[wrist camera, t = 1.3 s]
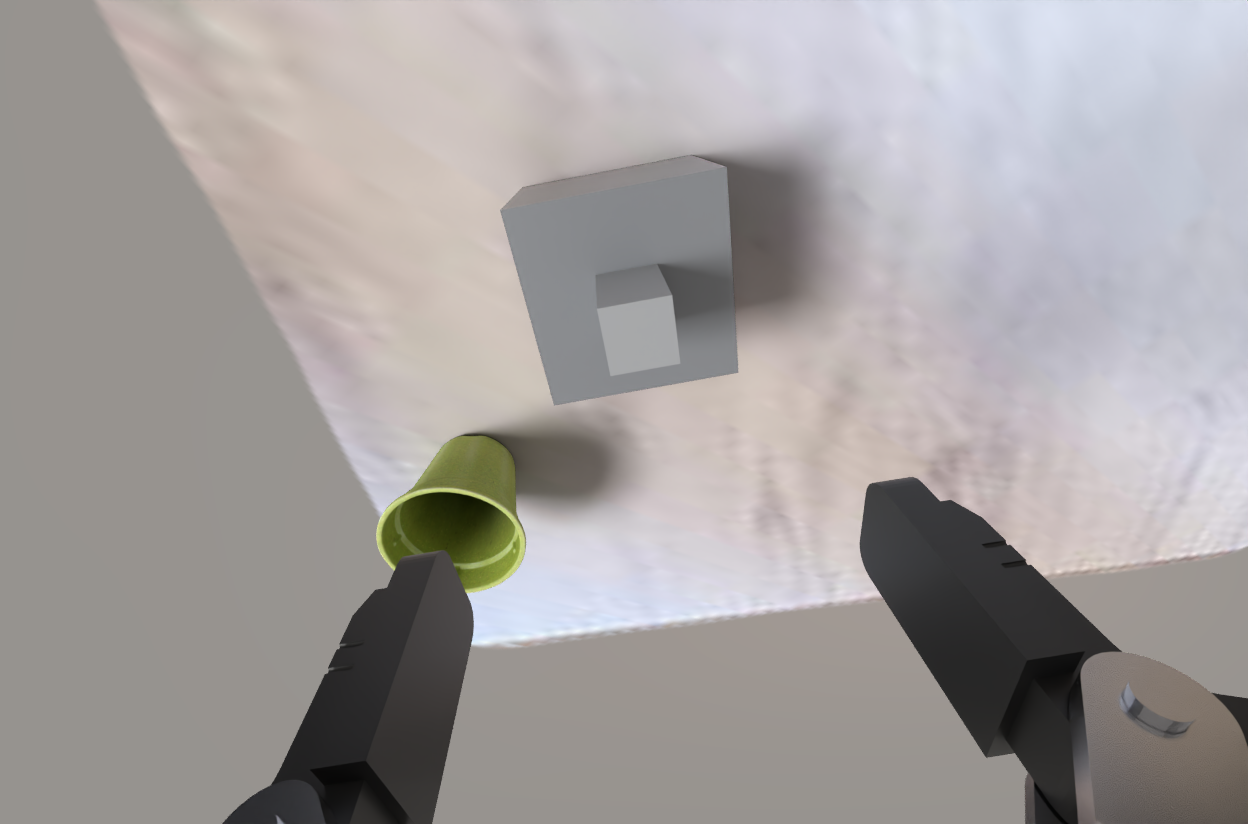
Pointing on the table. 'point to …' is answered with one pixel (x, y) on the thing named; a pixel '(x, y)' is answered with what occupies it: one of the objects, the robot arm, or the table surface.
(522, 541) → the plant pot
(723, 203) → the grey block with knob
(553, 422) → the table surface
